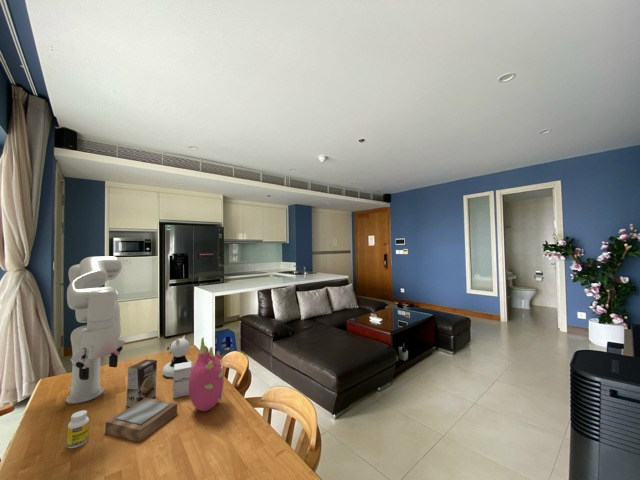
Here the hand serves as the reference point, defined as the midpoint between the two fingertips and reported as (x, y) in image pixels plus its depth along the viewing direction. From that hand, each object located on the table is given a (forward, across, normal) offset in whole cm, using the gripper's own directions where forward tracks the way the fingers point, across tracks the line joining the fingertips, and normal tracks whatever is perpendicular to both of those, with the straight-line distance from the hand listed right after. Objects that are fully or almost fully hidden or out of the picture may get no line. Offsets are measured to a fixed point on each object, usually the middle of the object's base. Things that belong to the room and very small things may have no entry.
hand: (99, 372), depth 92 cm
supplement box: (+22, -31, +8) cm, 39 cm away
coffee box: (+22, -21, -4) cm, 31 cm away
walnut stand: (+22, -10, +9) cm, 26 cm away
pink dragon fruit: (+22, -23, +27) cm, 42 cm away
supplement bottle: (+22, +4, -3) cm, 23 cm away
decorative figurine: (+22, -48, -10) cm, 53 cm away
